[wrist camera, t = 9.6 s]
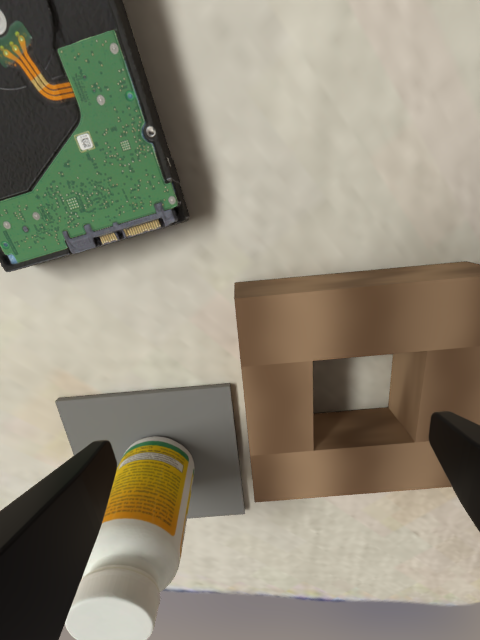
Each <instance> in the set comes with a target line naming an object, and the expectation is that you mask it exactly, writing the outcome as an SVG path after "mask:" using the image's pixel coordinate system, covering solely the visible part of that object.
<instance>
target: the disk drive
mask: <svg viewBox="0 0 480 640" xmlns="http://www.w3.org/2000/svg"><path fill="white" fill-rule="evenodd" d="M179 183H180V181H179V177H178V174H177V172H176V168H175V164H174V161H173V159H172V158H171V155H170V151H169V148H168V146H167V142H166V139H165V136H164V132H163V130H162V127H161V123H160V120H159V116H158V113H157V111H156V107H155V104H154V101H153V98H152V94H151V91H150V88H149V84H148V81H147V78H146V75H145V72H144V68H143V65H142V62H141V59H140V55H139V52H138V49H137V46H136V43H135V39H134V37H133V34H132V30H131V27H130V24H129V21H128V18H127V15H126V11H125V8H124V5H123V2H122V0H0V263H1V266H2V267H3V268H4V270H5V271H6V272H11V271H15V270H18V269H22V268H26V267H29V266H33V265H36V264H39V263H43V262H46V261H50V260H53V259H57V258H60V257H64V256H67V255H71V254H76V253H79V252H83V251H86V250H89V249H92V248H96V247H99V246H103V245H106V244H109V243H113V242H116V241H120V240H123V239H126V238H130V237H133V236H137V235H140V234H143V233H147V232H150V231H153V230H157V229H160V228H164V227H167V226H171V225H174V224H178V223H181V222H184V221H187V220H188V219H189V213H188V209H187V207H186V203H185V200H184V197H183V193H182V190H181V187H180V184H179Z"/></svg>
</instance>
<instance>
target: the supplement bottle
mask: <svg viewBox="0 0 480 640" xmlns="http://www.w3.org/2000/svg"><path fill="white" fill-rule="evenodd" d="M193 478H194V461H193V458H192V456H191V454H190V453H189V451H188V450H187V449H186V448H185V447H184V446H182V445H181V444H179V443H178V442H176V441H174V440H172V439H169V438H165V437H159V436H153V437H147V438H143V439H140V440H138V441H136V442H135V443H133V444H132V445H131V446H130V447H129V448H128V449H127V450H126V452H125V453H124V455H123V457H122V459H121V461H120V463H119V465H118V467H117V471H116V475H115V478H114V482H113V486H112V489H111V493H110V497H109V500H108V504H107V508H106V511H105V515H104V519H103V522H102V525H101V528H100V531H99V534H98V537H97V539H96V542H95V545H94V547H93V550H92V552H91V555H90V558H89V560H88V563H87V566H86V568H85V571H84V574H83V579H82V580H81V582H80V584H79V587H78V590H77V592H76V595H75V597H74V600H73V603H72V605H71V608H70V611H69V613H68V616H67V619H66V621H65V625H66V628H67V630H68V632H69V633H70V634H71V635H72V636H73V637H74V638H75V639H76V640H147V639H148V638H149V637H150V635H151V633H152V632H153V629H154V625H155V620H156V616H157V611H158V607H159V604H160V592H161V591H162V590H164V589H165V588H166V587H167V586H168V585H169V584H170V583H171V581H172V580H173V578H174V577H175V575H176V573H177V570H178V567H179V563H180V558H181V552H182V546H183V540H184V534H185V528H186V521H187V515H188V509H189V503H190V497H191V491H192V485H193Z"/></svg>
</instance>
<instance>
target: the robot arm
mask: <svg viewBox="0 0 480 640" xmlns="http://www.w3.org/2000/svg"><path fill="white" fill-rule="evenodd" d="M429 442H430V445H431V447H432V449H433V451H434V453H435V455H436V457H437V459H438V461H439V463H440V464H441V466H442V468H443V470H444V472H445V474H446V476H447V478H448V480H449V482H450V484H451V486H452V487H453V489H454V491H455V493H456V495H457V497H458V499H459V500H460V502H461V504H462V505H463V507H464V508H465V510H466V512H467V513H468V515H469V516H470V518H471V519H472V521H473V523H474V524H475V526H476V527H477V529H478V530H479V532H480V425H478V424H476V423H474V422H472V421H470V420H468V419H465V418H463V417H461V416H459V415H457V414H455V413H453V412H450V411H440V412H434V413H432V415H431V420H430V428H429ZM116 471H117V460H116V457H115V454H114V451H113V448H112V445H111V443H110V441H109V440H97V441H93V442H92V443H90V444H89V445H88V446H86V447H85V448H84V449H82V450H81V451H80V452H78V453H77V454H76V455H74V456H73V457H72V458H70V459H69V460H68V461H66V462H65V463H64V464H62V465H61V466H60V467H58V468H57V469H56V470H54V471H53V472H52V473H50V474H49V475H48V476H46V477H45V478H44V479H42V480H41V481H40V482H38V483H37V484H36V485H34V486H33V487H32V488H30V489H29V490H28V491H26V492H25V493H24V494H22V495H21V496H20V497H18V498H17V499H16V500H14V501H13V502H12V503H10V504H9V505H8V506H6V507H5V508H4V509H2V510H1V511H0V640H59V637H60V634H61V632H62V629H63V626H64V624H65V621H66V619H67V616H68V613H69V611H70V608H71V605H72V603H73V600H74V597H75V595H76V592H77V590H78V587H79V584H80V582H81V579H82V576H83V574H84V571H85V568H86V566H87V563H88V560H89V558H90V555H91V552H92V550H93V547H94V545H95V542H96V539H97V537H98V534H99V531H100V528H101V525H102V522H103V519H104V515H105V511H106V508H107V504H108V500H109V497H110V493H111V489H112V486H113V482H114V478H115V475H116Z"/></svg>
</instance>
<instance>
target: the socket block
mask: <svg viewBox="0 0 480 640" xmlns="http://www.w3.org/2000/svg"><path fill="white" fill-rule="evenodd" d="M234 299H235V309H236V319H237V329H238V339H239V349H240V359H241V369H242V379H243V389H244V399H245V409H246V419H247V429H248V439H249V449H250V459H251V469H252V479H253V489H254V499H255V502H265V501H278V500H290V499H303V498H315V497H328V496H341V495H353V494H366V493H378V492H391V491H404V490H416V489H429V488H441V487H452V486H451V484H450V482H449V480H448V478H447V476H446V474H445V472H444V470H443V468H442V466H441V464H440V463H439V461H438V459H437V457H436V455H435V453H434V451H433V449H432V447H431V445H430V442H429V428H430V420H431V415H432V413H434V412H440V411H450V412H453V413H455V414H457V415H459V416H461V417H463V418H465V419H468V420H470V421H472V422H474V423H476V424H478V425H480V265H479V264H475V263H470V262H455V263H444V264H433V265H422V266H412V267H401V268H390V269H379V270H368V271H357V272H346V273H335V274H325V275H314V276H303V277H292V278H281V279H270V280H259V281H248V282H238V283H235V291H234ZM385 354H393V360H392V371H391V382H390V393H389V404H388V407H387V408H375V409H363V410H352V411H340V412H328V413H316V414H313V361H316V360H328V359H339V358H351V357H362V356H374V355H385Z"/></svg>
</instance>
